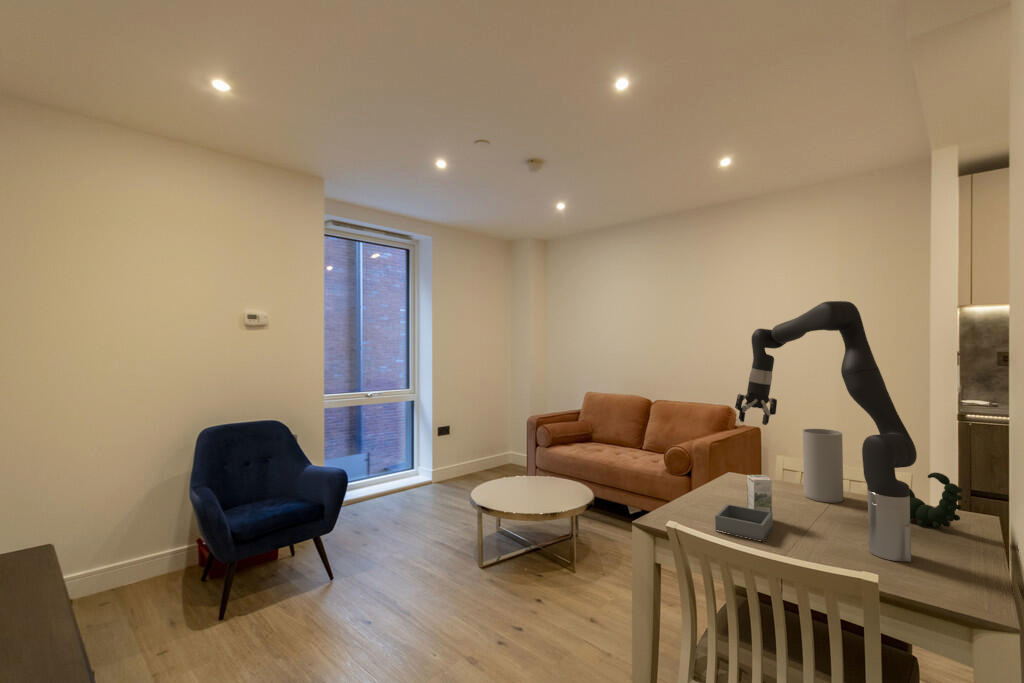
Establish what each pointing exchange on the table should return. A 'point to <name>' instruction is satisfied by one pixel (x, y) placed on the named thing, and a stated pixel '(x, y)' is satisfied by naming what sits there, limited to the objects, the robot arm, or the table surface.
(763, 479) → the syrup box
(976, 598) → the table surface
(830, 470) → the cylinder vase
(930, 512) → the toy figurine
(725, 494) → the table surface
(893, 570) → the table surface
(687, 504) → the table surface
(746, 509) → the crate
